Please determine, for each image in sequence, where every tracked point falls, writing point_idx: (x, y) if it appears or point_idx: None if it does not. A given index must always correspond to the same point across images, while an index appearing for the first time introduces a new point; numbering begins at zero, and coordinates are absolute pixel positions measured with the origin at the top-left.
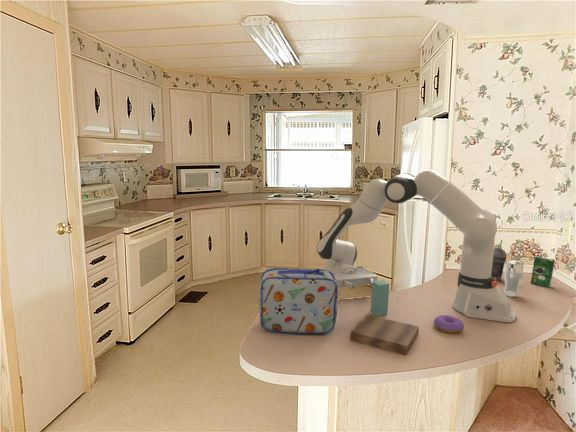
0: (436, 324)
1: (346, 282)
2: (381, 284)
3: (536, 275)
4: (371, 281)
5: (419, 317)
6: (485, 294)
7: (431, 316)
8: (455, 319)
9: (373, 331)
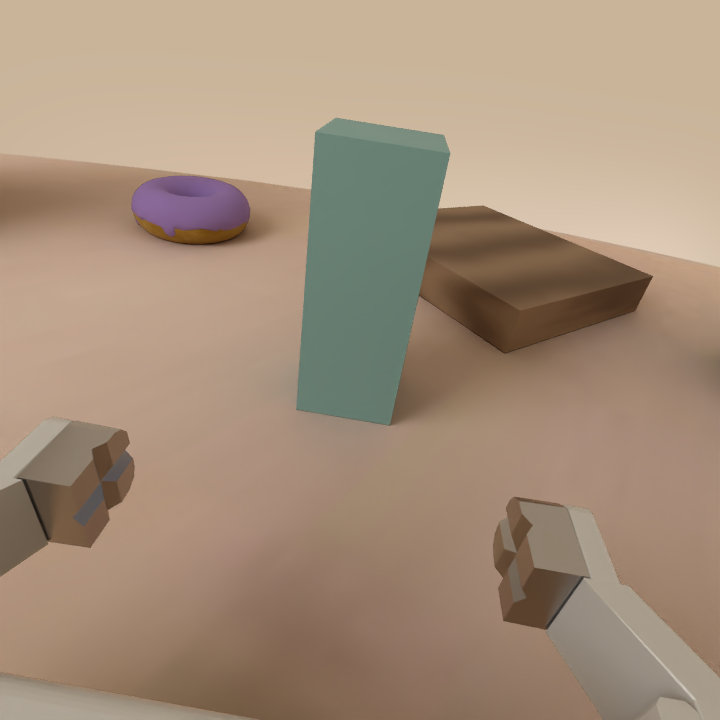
0: (244, 217)
1: (696, 659)
2: (412, 131)
3: None
4: (63, 455)
5: (182, 285)
6: None
7: (114, 270)
8: (167, 182)
9: (554, 252)
